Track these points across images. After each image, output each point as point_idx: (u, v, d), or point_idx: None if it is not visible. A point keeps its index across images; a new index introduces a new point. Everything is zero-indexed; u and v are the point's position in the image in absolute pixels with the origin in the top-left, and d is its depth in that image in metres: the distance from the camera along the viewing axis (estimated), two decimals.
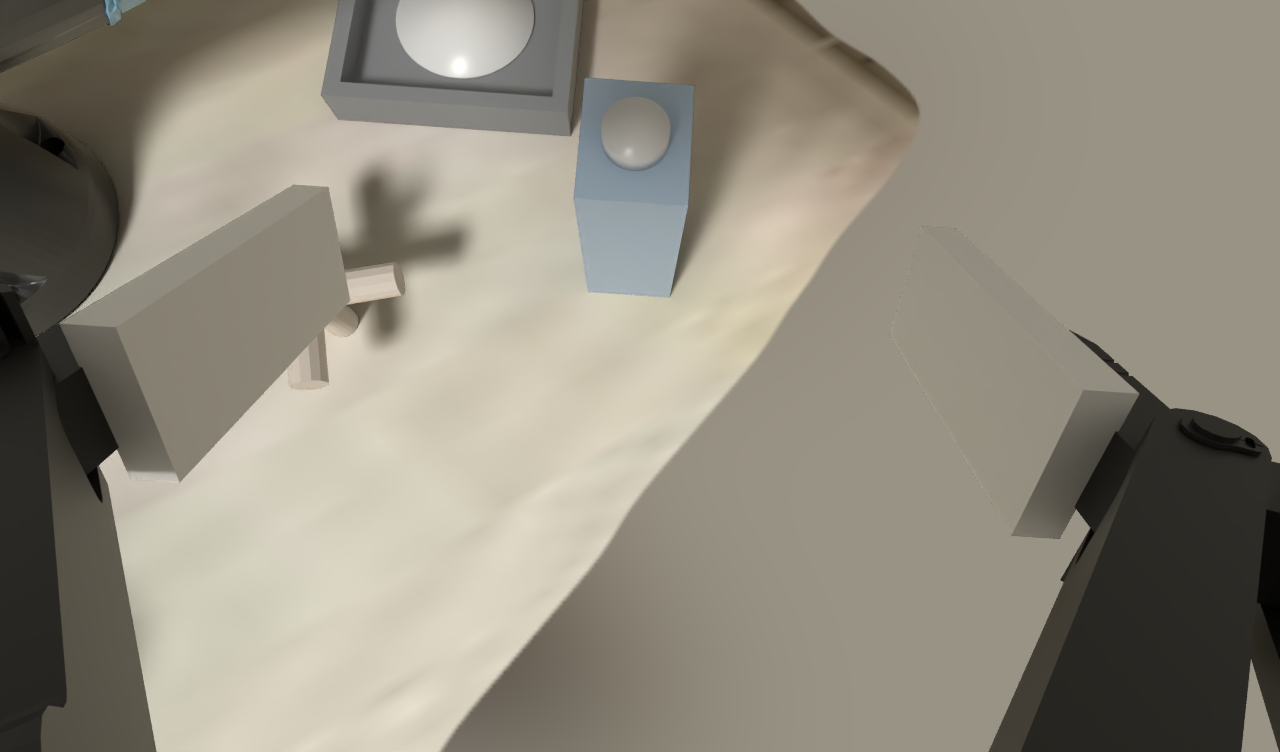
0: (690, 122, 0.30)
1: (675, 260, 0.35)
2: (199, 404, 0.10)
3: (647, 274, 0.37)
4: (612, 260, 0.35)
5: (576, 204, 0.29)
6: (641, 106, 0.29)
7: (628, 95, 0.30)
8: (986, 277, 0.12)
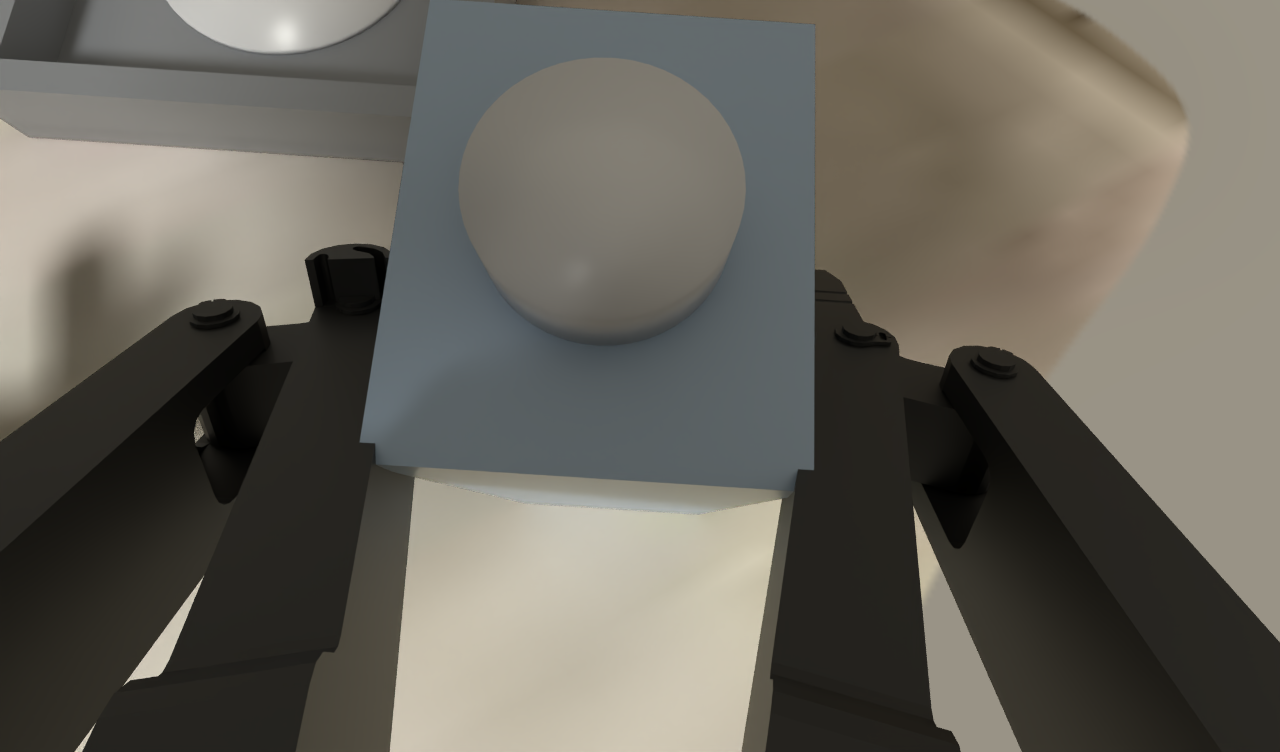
0: (808, 155, 0.08)
1: (725, 508, 0.13)
2: None
3: (652, 507, 0.15)
4: (561, 498, 0.14)
5: (383, 467, 0.08)
6: (625, 95, 0.07)
7: (580, 59, 0.08)
8: None
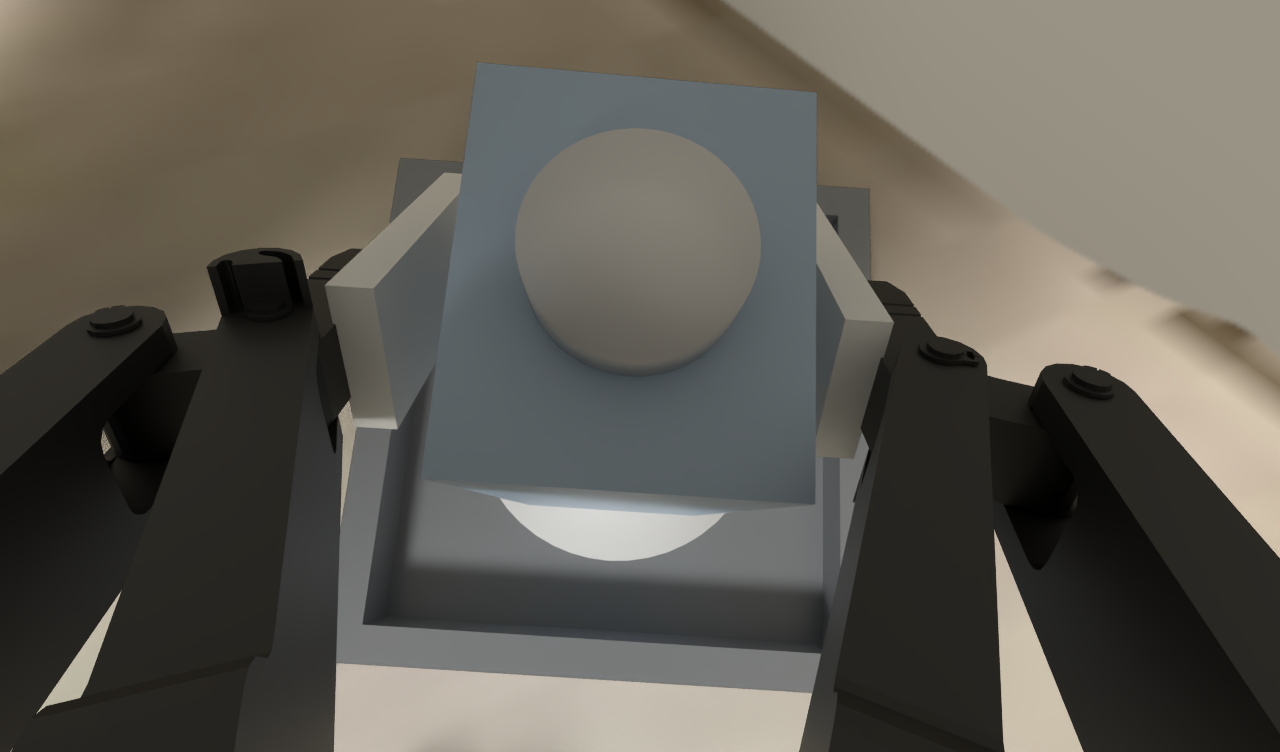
0: (810, 210, 0.09)
1: (724, 512, 0.14)
2: (408, 362, 0.12)
3: (653, 510, 0.17)
4: (572, 503, 0.15)
5: (438, 481, 0.09)
6: (657, 163, 0.08)
7: (612, 120, 0.09)
8: None
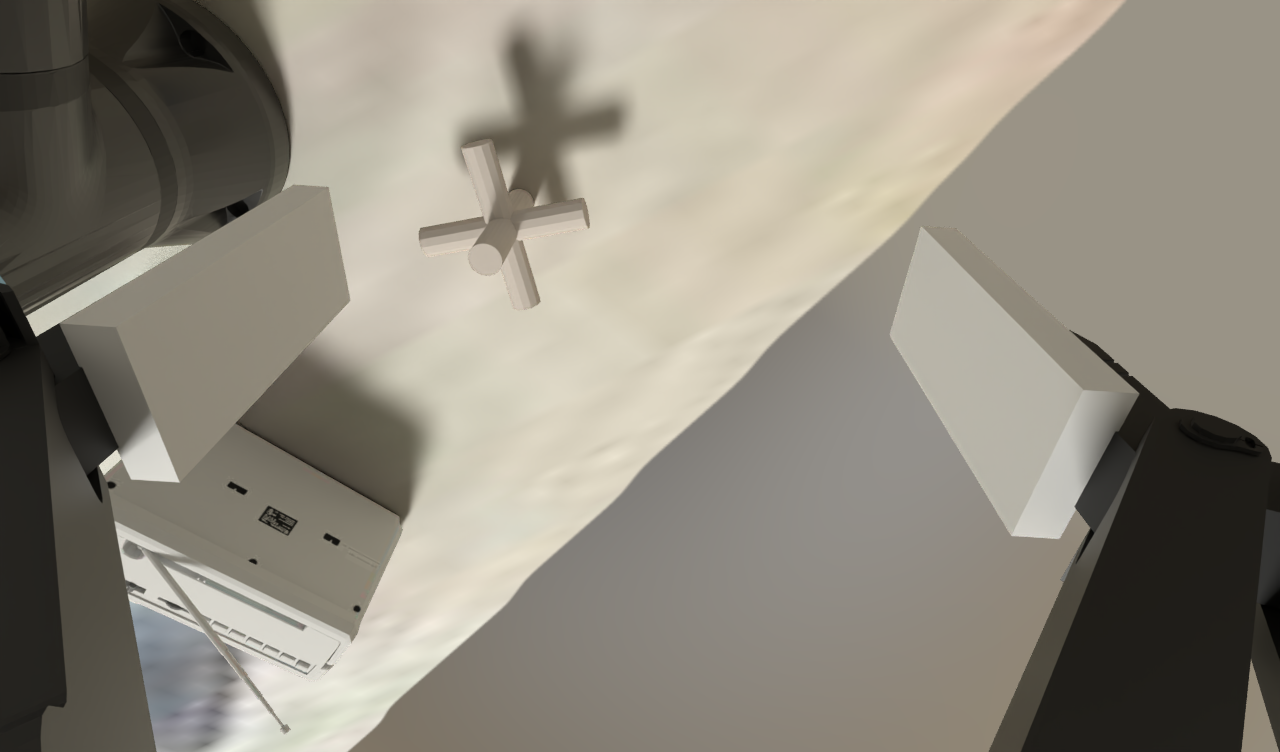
0: None
1: None
2: (199, 404, 0.10)
3: None
4: None
5: None
6: None
7: None
8: (986, 277, 0.12)
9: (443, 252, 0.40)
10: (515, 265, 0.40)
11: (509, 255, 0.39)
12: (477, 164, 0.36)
